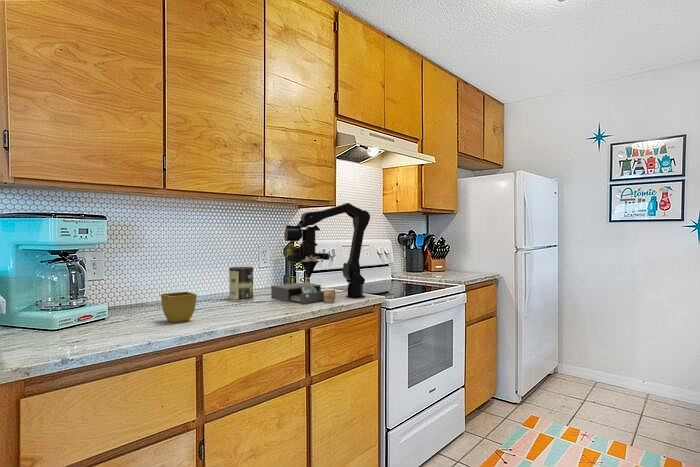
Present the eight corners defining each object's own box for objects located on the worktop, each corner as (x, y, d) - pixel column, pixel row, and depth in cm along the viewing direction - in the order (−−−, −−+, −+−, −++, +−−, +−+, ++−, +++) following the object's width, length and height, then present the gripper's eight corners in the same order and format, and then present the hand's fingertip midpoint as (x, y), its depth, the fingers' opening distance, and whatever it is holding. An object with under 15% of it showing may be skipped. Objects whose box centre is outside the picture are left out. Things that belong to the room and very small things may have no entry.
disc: (310, 286, 177) (312, 284, 177) (318, 297, 173) (319, 294, 172) (298, 288, 173) (299, 285, 172) (305, 298, 169) (306, 295, 168)
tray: (317, 295, 183) (317, 287, 183) (335, 298, 173) (335, 290, 173) (284, 299, 171) (284, 290, 171) (301, 303, 161) (301, 294, 161)
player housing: (304, 293, 190) (304, 282, 190) (322, 297, 180) (322, 285, 180) (271, 298, 178) (271, 285, 178) (288, 302, 168) (288, 289, 168)
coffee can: (256, 297, 179) (256, 266, 179) (249, 301, 169) (249, 268, 169) (233, 297, 179) (233, 266, 179) (225, 301, 169) (225, 268, 169)
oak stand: (329, 301, 170) (329, 289, 170) (336, 302, 167) (336, 291, 167) (321, 302, 167) (321, 290, 167) (328, 303, 164) (328, 292, 164)
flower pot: (186, 317, 138) (186, 291, 138) (197, 320, 132) (197, 293, 132) (160, 320, 132) (160, 293, 132) (170, 325, 126) (170, 296, 126)
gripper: (314, 240, 185) (314, 274, 185) (280, 241, 172) (280, 277, 172) (330, 240, 176) (330, 276, 177) (294, 241, 164) (294, 279, 164)
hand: (308, 277), depth 173 cm, fingers closed
